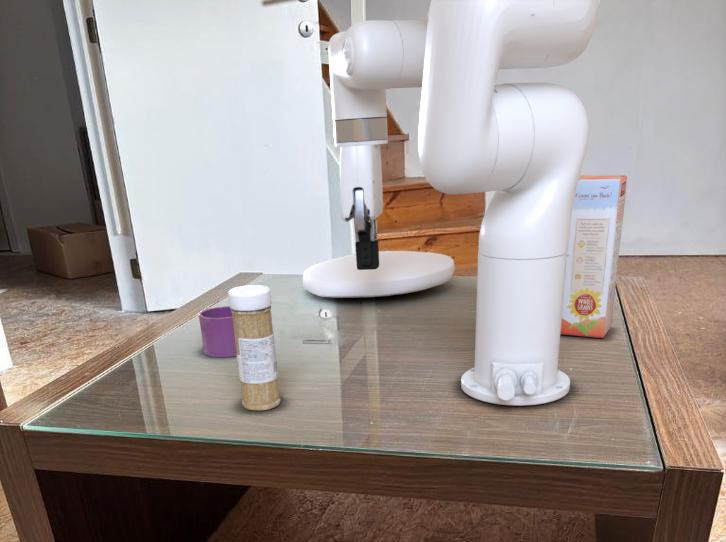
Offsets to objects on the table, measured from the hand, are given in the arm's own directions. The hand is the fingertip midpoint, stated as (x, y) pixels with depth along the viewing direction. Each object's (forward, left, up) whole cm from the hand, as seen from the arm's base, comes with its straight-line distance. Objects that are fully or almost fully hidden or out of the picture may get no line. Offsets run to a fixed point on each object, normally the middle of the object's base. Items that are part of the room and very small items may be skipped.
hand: (368, 268), depth 110 cm
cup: (-14, +19, -9) cm, 25 cm away
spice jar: (-35, +8, -9) cm, 37 cm away
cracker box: (-3, -28, -9) cm, 30 cm away
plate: (+24, +2, -9) cm, 25 cm away
